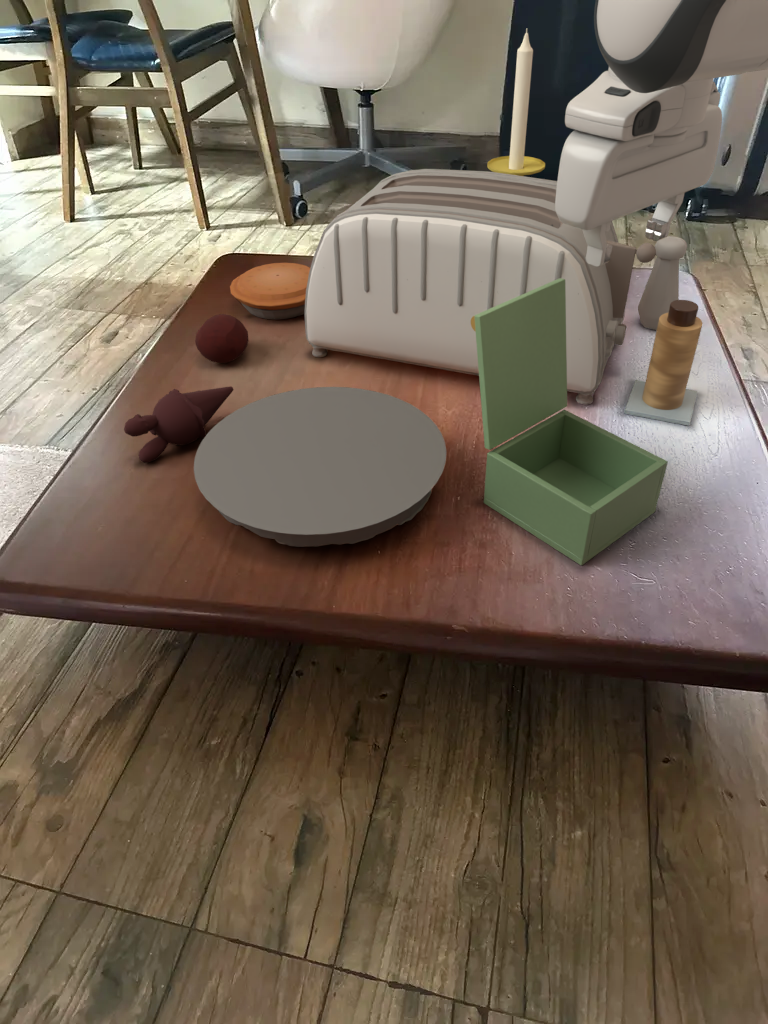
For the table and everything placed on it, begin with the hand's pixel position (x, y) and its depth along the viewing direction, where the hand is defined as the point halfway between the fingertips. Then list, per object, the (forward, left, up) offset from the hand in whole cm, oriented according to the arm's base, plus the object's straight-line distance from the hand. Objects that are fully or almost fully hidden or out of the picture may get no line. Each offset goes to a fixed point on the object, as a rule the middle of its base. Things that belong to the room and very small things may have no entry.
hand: (627, 250), depth 77 cm
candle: (+22, -39, -25) cm, 51 cm away
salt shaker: (-2, -37, -25) cm, 45 cm away
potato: (+54, -5, -25) cm, 60 cm away
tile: (-6, -14, -25) cm, 29 cm away
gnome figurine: (+47, +15, -25) cm, 55 cm away
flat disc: (+27, +17, -25) cm, 40 cm away
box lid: (+7, +8, -10) cm, 15 cm away
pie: (+55, -23, -25) cm, 65 cm away
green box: (0, +11, -25) cm, 27 cm away
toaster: (+21, -19, -25) cm, 38 cm away
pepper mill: (-6, -14, -24) cm, 29 cm away
